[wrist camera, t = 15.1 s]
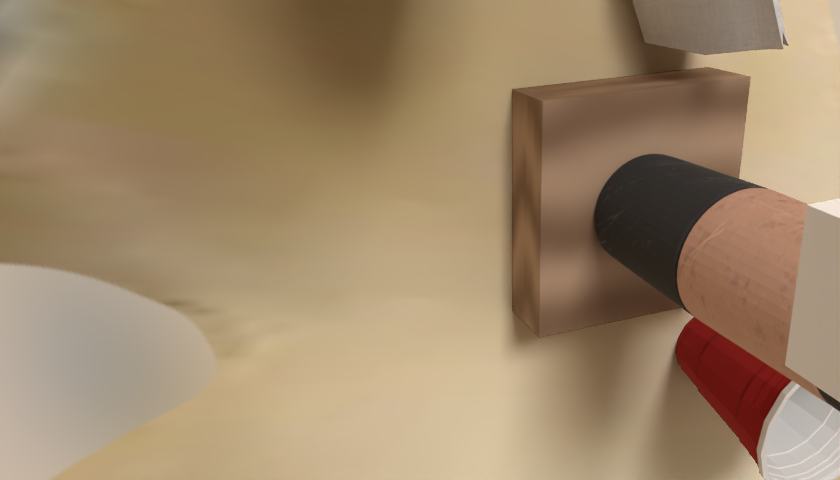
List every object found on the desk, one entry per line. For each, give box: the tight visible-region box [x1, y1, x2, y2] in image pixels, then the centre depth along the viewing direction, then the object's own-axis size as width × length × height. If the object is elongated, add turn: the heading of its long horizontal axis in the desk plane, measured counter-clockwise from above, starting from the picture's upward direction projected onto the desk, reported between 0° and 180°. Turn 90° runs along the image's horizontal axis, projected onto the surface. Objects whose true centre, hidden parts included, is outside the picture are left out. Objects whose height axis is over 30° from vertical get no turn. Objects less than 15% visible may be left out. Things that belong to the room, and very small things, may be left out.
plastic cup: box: [676, 317, 840, 480], centre depth 54 cm, size 11×11×12 cm
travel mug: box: [594, 154, 840, 411], centre depth 39 cm, size 8×8×20 cm
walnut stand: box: [513, 67, 750, 337], centre depth 50 cm, size 15×14×4 cm
